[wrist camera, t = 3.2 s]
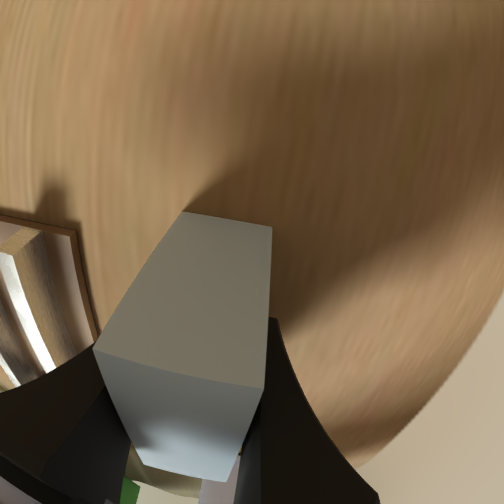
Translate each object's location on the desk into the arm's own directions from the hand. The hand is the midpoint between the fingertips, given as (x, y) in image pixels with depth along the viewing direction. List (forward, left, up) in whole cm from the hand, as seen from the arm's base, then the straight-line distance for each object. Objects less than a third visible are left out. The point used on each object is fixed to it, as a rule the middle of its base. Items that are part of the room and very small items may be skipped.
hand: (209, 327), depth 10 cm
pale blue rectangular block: (0, 0, -2) cm, 2 cm away
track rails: (-5, +11, -1) cm, 12 cm away
